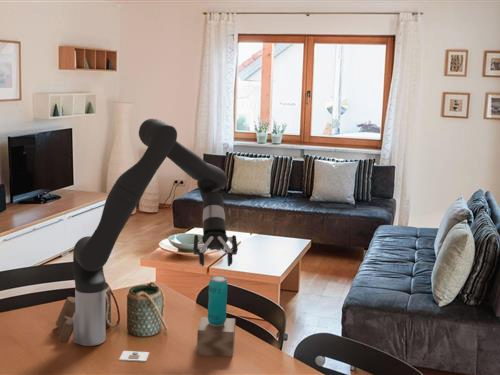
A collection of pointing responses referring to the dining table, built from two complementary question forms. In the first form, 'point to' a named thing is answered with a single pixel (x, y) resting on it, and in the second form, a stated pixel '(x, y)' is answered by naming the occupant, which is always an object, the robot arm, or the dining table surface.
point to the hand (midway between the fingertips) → (216, 265)
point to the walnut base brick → (216, 338)
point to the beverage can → (217, 300)
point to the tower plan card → (134, 356)
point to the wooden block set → (66, 319)
